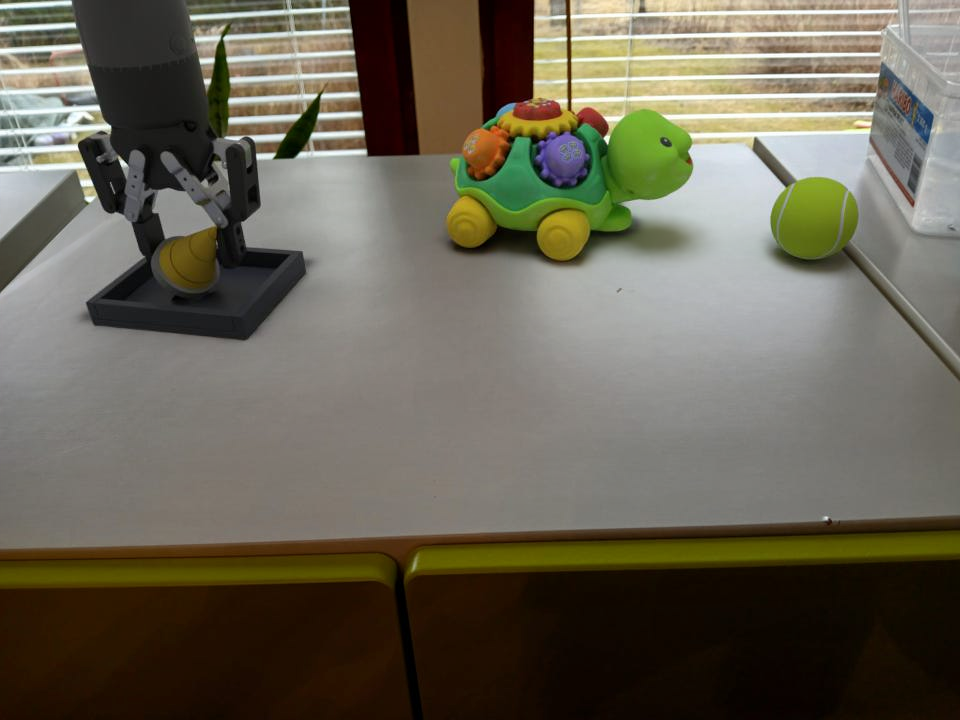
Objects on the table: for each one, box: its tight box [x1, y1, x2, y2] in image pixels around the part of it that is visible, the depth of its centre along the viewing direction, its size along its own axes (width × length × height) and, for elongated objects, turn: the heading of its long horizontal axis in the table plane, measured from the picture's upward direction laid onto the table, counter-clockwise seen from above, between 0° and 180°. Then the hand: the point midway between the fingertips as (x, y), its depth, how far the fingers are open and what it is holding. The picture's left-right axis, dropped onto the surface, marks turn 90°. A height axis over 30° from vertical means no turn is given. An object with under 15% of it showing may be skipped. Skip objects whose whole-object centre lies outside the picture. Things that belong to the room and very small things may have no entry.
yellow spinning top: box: [151, 225, 220, 299], centre depth 65 cm, size 5×5×10 cm
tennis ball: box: [770, 176, 859, 261], centre depth 68 cm, size 7×7×7 cm
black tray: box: [85, 244, 307, 340], centre depth 67 cm, size 14×12×2 cm
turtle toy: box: [445, 97, 694, 262], centre depth 74 cm, size 17×23×12 cm
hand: (195, 261), depth 66 cm, fingers closed on yellow spinning top, 6 cm apart
